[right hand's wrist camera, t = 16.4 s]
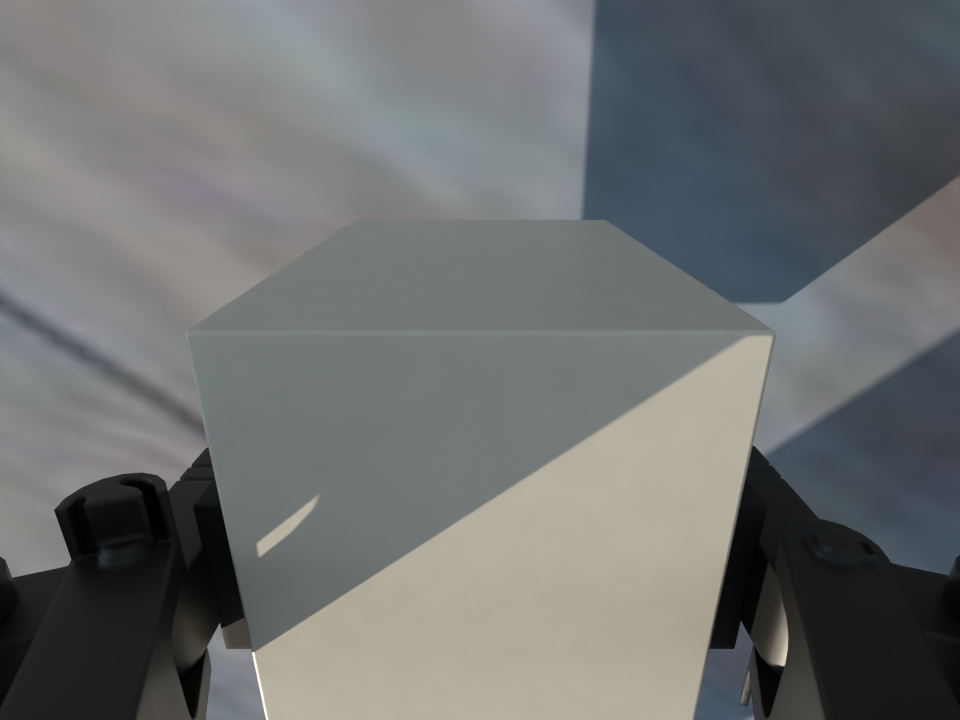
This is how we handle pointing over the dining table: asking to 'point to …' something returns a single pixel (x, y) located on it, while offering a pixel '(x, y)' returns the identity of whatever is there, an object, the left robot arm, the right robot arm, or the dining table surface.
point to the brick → (480, 470)
